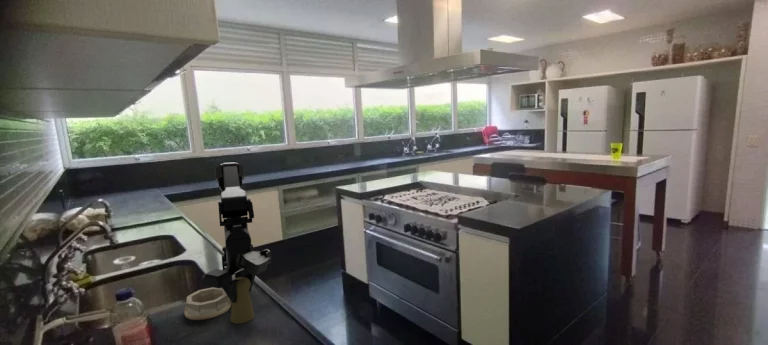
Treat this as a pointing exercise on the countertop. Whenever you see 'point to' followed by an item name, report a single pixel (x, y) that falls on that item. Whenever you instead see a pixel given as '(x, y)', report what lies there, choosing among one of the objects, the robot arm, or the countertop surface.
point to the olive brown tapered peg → (242, 302)
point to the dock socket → (207, 304)
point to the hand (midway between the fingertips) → (241, 298)
